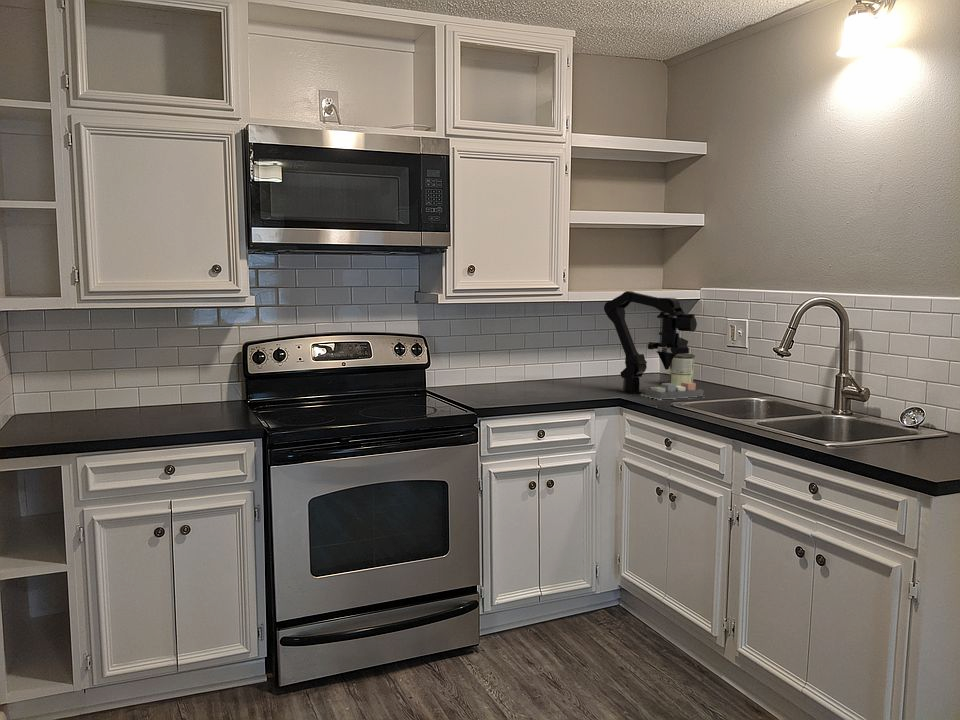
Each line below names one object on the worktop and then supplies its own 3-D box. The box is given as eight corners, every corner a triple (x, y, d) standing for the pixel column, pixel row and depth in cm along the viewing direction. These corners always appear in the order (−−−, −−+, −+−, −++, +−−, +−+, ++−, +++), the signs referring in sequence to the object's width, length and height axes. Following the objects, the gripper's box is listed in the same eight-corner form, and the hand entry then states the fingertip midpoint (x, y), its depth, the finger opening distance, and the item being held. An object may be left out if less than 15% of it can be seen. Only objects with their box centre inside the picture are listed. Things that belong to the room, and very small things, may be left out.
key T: (680, 389, 318) (681, 382, 317) (688, 389, 320) (688, 382, 319) (687, 391, 314) (688, 383, 314) (695, 390, 316) (695, 383, 316)
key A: (650, 394, 311) (650, 387, 310) (658, 394, 313) (658, 386, 312) (657, 396, 307) (657, 388, 307) (665, 395, 309) (665, 388, 309)
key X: (660, 390, 313) (661, 383, 313) (668, 390, 315) (669, 383, 314) (667, 392, 309) (668, 385, 309) (675, 392, 311) (675, 384, 311)
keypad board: (640, 395, 313) (640, 388, 313) (686, 393, 324) (686, 385, 324) (658, 400, 303) (659, 392, 303) (705, 397, 314) (705, 389, 314)
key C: (670, 393, 316) (671, 386, 315) (678, 392, 317) (678, 385, 317) (677, 395, 312) (678, 387, 312) (685, 394, 314) (685, 387, 314)
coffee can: (663, 385, 345) (665, 353, 343) (684, 384, 348) (686, 353, 346) (676, 388, 335) (678, 356, 333) (697, 388, 338) (699, 355, 336)
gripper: (701, 331, 303) (698, 371, 305) (670, 328, 320) (667, 366, 322) (678, 332, 299) (676, 372, 300) (647, 328, 315) (645, 366, 317)
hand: (666, 369), depth 310 cm, fingers closed
